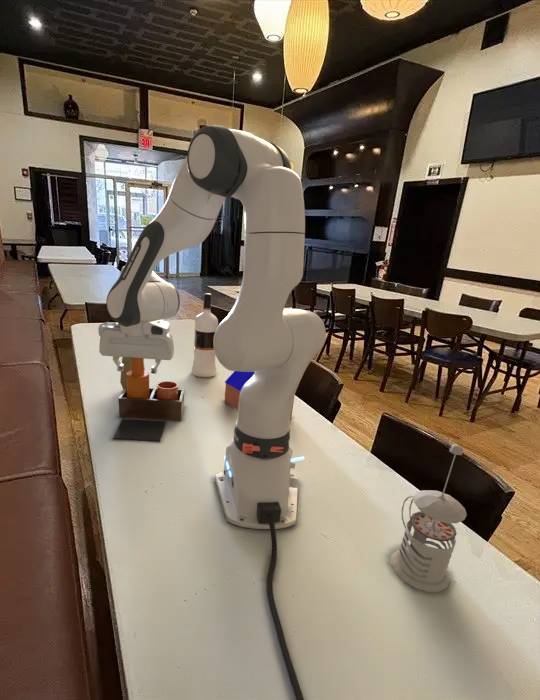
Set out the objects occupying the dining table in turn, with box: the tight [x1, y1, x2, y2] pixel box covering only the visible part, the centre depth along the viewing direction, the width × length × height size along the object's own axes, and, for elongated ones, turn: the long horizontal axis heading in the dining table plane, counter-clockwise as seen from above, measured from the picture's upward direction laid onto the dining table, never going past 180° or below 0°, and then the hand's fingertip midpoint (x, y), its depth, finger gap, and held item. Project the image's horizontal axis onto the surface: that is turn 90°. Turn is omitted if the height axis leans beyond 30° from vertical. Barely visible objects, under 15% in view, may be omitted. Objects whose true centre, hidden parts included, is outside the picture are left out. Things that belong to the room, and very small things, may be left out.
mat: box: [112, 418, 166, 443], centre depth 111 cm, size 11×12×1 cm
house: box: [224, 371, 296, 419], centre depth 128 cm, size 12×20×12 cm, turn 38°
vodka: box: [191, 292, 219, 378], centre depth 150 cm, size 9×9×30 cm
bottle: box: [126, 358, 150, 399], centre depth 119 cm, size 6×6×17 cm
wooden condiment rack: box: [118, 386, 186, 422], centre depth 121 cm, size 9×18×6 cm, turn 92°
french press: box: [390, 444, 468, 593], centre depth 69 cm, size 10×12×25 cm
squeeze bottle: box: [119, 357, 146, 391], centre depth 131 cm, size 8×8×18 cm
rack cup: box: [156, 380, 179, 400], centre depth 121 cm, size 6×6×9 cm
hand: (137, 371), depth 118 cm, fingers open, 8 cm apart
